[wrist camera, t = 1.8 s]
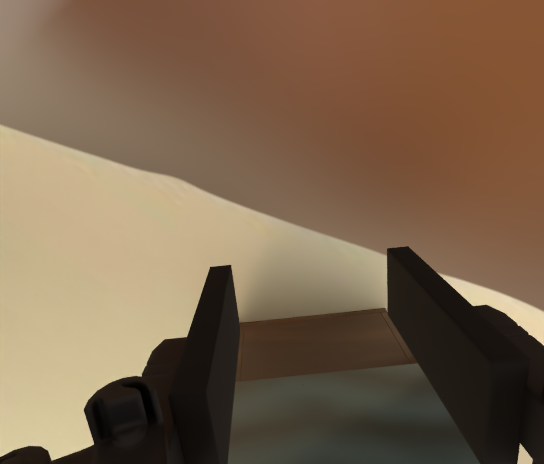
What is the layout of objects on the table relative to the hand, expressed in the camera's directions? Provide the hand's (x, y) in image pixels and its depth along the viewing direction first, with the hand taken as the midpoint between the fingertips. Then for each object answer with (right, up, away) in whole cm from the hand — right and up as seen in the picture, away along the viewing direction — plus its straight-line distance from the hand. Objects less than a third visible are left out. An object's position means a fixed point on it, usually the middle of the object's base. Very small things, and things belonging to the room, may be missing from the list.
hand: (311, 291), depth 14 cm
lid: (+3, -12, +12) cm, 17 cm away
